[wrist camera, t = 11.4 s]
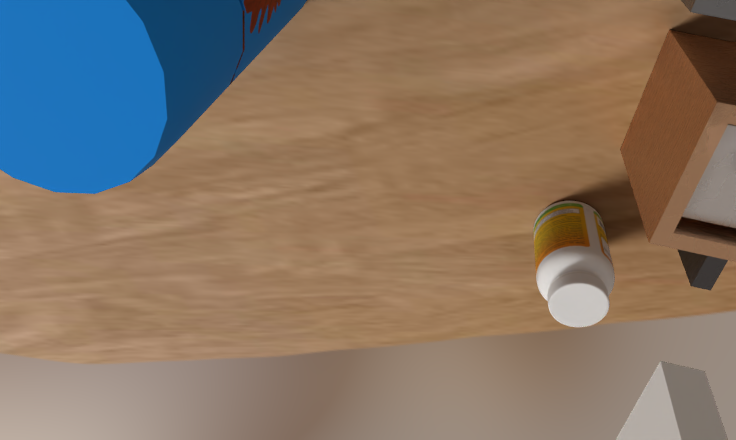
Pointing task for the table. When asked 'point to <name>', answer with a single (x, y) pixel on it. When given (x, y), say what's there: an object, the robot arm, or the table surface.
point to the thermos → (116, 80)
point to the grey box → (713, 8)
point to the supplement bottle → (573, 263)
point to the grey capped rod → (717, 185)
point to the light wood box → (683, 148)
